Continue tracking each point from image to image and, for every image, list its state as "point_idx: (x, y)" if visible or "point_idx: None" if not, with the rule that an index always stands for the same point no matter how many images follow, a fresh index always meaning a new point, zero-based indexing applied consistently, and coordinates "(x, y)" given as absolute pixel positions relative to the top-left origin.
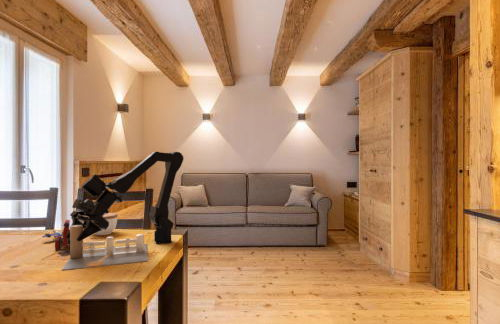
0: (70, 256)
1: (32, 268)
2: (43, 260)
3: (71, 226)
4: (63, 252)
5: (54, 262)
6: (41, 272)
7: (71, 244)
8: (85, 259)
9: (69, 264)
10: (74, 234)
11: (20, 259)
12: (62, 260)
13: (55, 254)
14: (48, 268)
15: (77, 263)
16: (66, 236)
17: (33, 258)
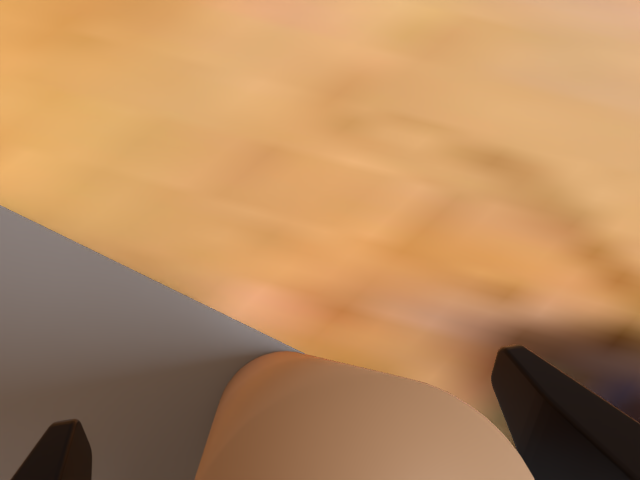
0: (282, 351)
1: (240, 15)
2: (446, 149)
3: (410, 422)
4: (625, 373)
5: (293, 202)
6: (38, 30)
7: (268, 363)
8: (105, 472)
9: (45, 276)
10: (220, 426)
11: (618, 25)
12: (309, 279)
13: (596, 290)
14: (121, 106)
15: (9, 351)
16: (513, 345)
17: (580, 106)
